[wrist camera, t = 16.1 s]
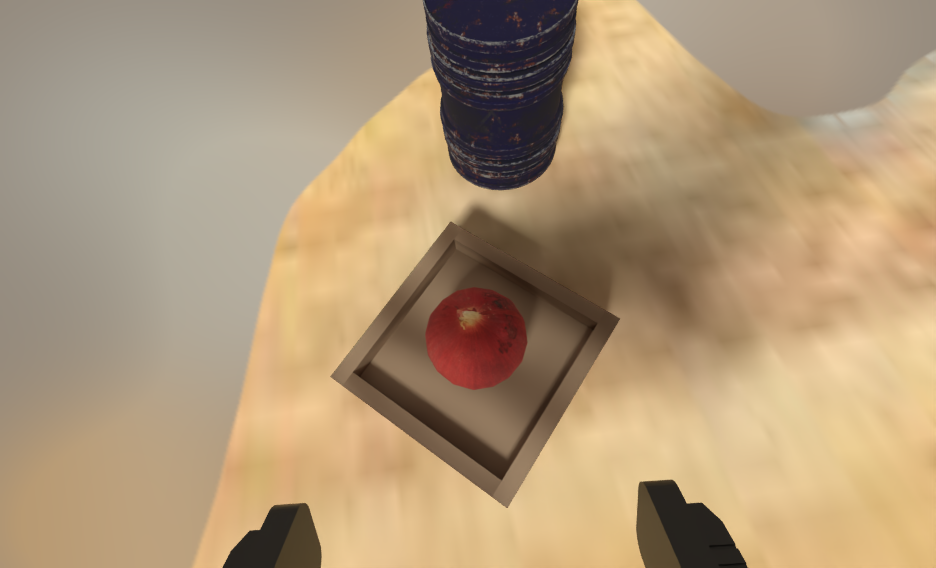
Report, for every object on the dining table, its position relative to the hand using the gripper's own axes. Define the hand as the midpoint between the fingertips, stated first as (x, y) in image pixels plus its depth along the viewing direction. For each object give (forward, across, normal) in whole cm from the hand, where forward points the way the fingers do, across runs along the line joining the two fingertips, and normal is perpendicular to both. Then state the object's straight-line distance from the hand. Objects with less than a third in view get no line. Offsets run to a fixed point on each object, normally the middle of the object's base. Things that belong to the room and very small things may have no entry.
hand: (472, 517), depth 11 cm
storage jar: (+36, -3, -4) cm, 36 cm away
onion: (+18, 0, +7) cm, 20 cm away
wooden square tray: (+22, 0, +10) cm, 24 cm away
